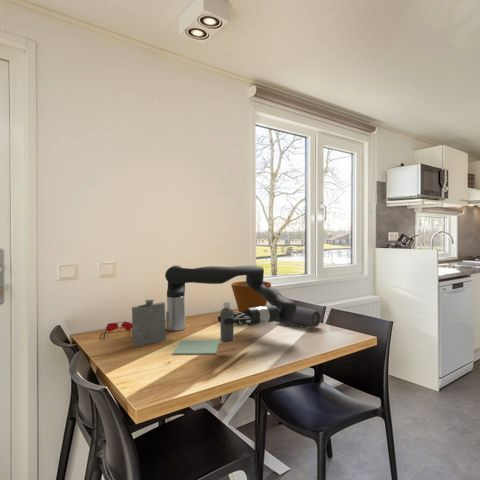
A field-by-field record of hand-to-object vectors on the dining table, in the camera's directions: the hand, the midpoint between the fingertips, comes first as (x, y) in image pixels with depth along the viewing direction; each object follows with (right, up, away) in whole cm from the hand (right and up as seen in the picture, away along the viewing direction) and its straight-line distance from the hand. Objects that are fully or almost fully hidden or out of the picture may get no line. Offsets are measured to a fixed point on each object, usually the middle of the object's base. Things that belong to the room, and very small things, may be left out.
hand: (221, 320), depth 142 cm
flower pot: (+15, -13, +64) cm, 67 cm away
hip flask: (-34, -14, +17) cm, 40 cm away
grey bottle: (+2, -8, +1) cm, 9 cm away
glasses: (-53, -15, +31) cm, 64 cm away
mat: (-11, -14, +9) cm, 20 cm away
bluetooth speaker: (+39, -13, +43) cm, 59 cm away
